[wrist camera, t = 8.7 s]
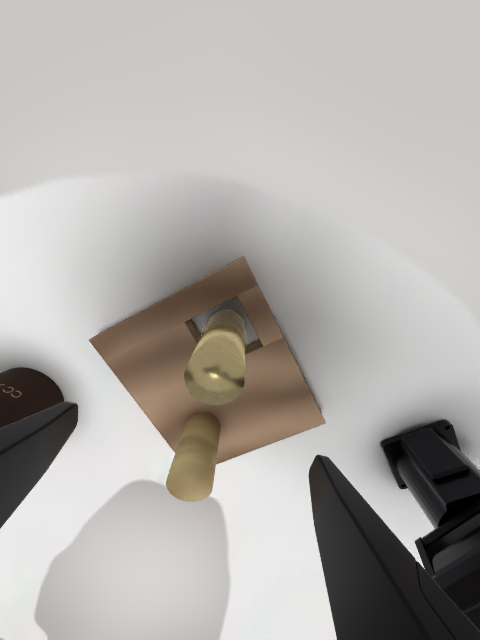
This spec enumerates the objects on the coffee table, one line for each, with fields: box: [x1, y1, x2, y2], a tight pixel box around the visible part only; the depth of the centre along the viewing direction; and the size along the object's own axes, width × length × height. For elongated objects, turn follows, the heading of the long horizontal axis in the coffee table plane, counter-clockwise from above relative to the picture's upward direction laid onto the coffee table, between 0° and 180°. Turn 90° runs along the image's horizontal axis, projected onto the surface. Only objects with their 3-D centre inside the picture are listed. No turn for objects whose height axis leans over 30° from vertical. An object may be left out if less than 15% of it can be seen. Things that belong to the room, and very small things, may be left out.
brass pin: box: [184, 309, 246, 405], centre depth 16 cm, size 3×3×8 cm
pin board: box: [89, 257, 326, 502], centre depth 18 cm, size 16×14×7 cm
